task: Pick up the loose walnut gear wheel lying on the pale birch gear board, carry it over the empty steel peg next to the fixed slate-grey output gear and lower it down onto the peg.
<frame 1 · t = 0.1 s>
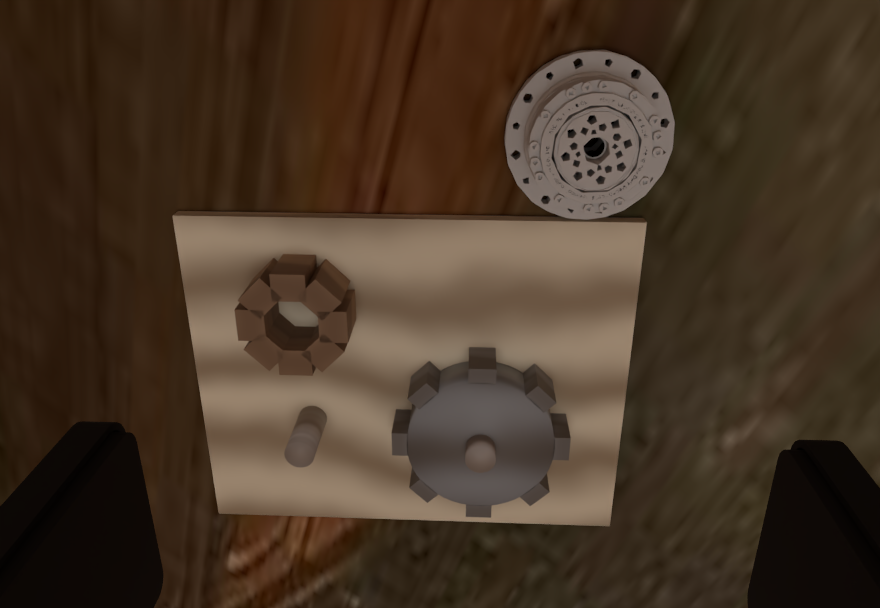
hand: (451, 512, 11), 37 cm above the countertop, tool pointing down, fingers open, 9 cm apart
mechanical component: (585, 133, 45), on the countertop
gear board: (410, 376, 52), on the countertop
walnut gear: (303, 303, 49), point 1 cm above the countertop, touching gear board
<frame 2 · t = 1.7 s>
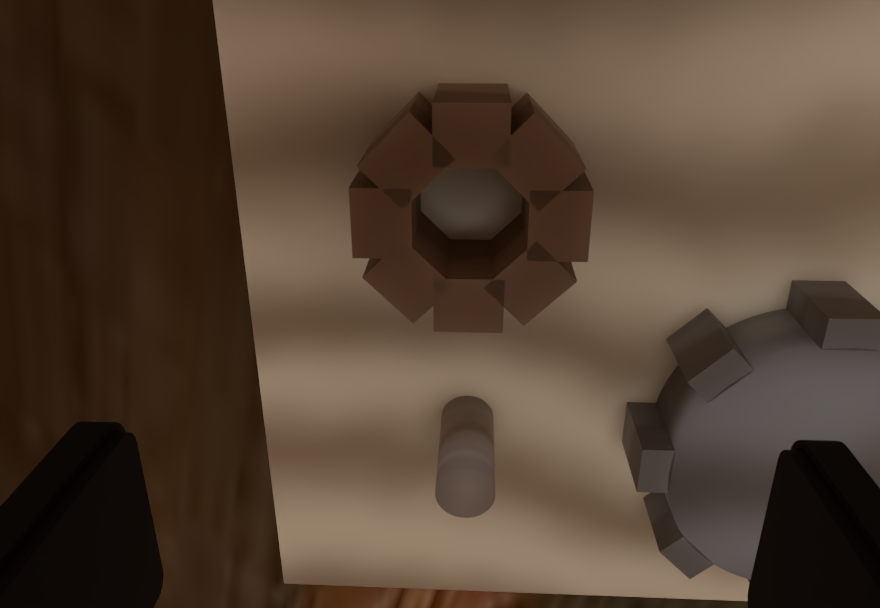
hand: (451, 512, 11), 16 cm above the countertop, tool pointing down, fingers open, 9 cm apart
gear board: (654, 340, 28), on the countertop
walnut gear: (471, 191, 25), point 1 cm above the countertop, touching gear board
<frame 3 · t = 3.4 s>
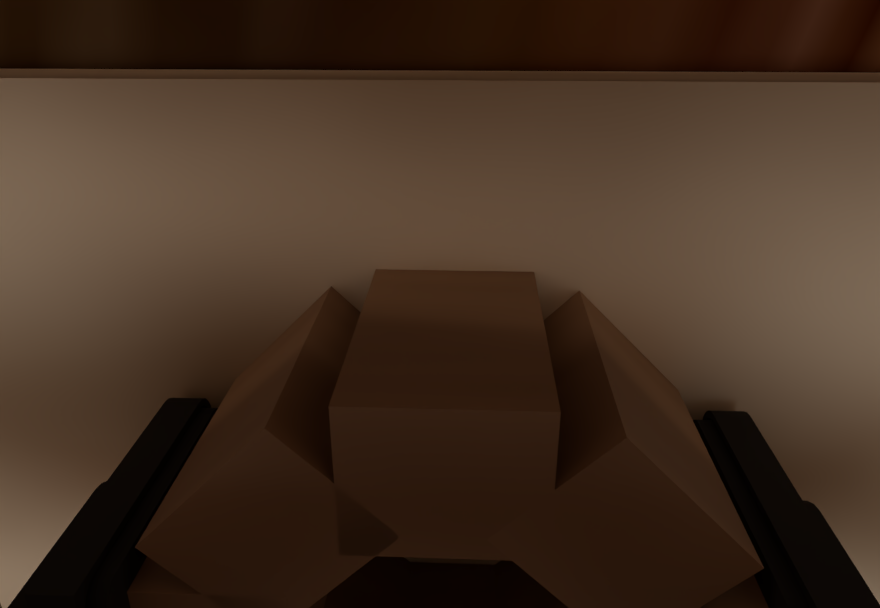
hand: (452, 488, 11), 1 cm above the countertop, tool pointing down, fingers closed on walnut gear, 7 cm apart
walnut gear: (452, 479, 11), point 1 cm above the countertop, touching gear board, gripper
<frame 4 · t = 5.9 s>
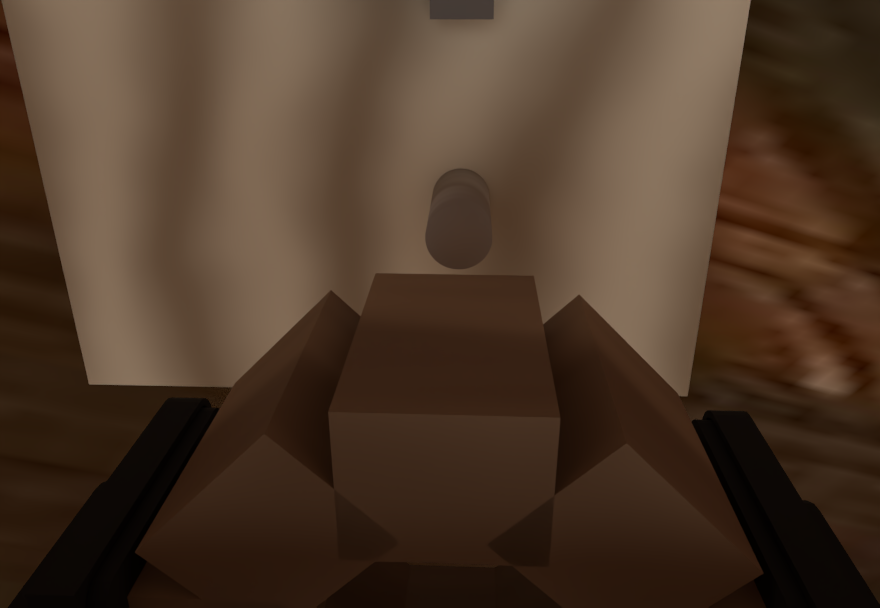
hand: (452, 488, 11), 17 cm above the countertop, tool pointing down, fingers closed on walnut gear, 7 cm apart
walnut gear: (452, 482, 11), point 17 cm above the countertop, touching gripper
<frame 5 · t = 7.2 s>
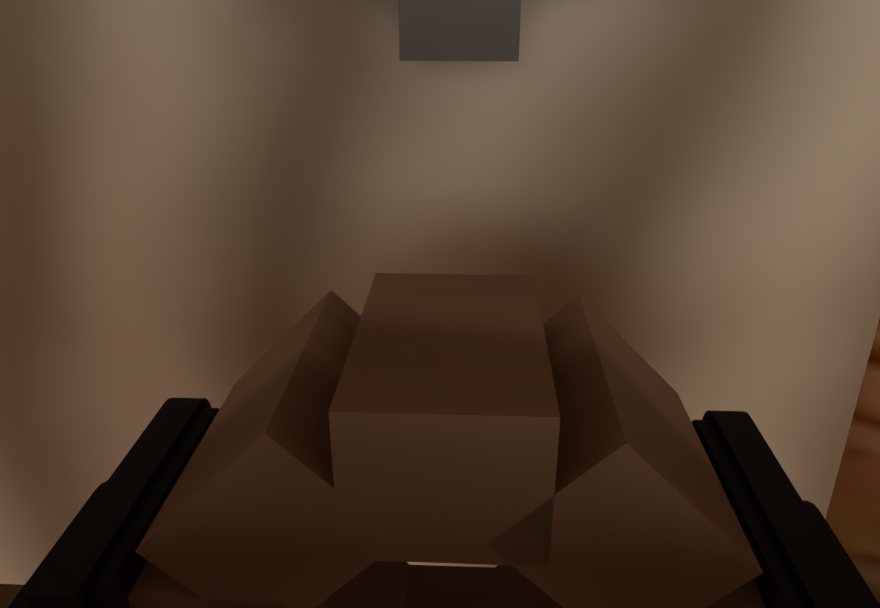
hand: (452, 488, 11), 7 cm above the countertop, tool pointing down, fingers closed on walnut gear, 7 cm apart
walnut gear: (452, 482, 11), point 6 cm above the countertop, touching gripper
when the fingers open (3 cm above the countertop, at t = 8.4 s): walnut gear drops 2 cm, resting on gear board.
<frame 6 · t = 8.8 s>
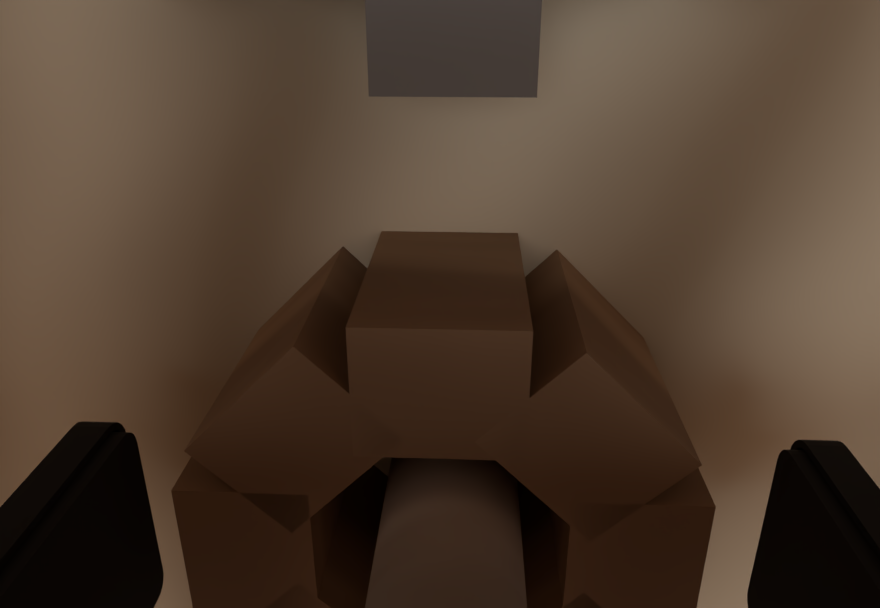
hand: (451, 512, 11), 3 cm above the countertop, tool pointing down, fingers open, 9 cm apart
walnut gear: (448, 419, 13), point 1 cm above the countertop, touching gear board
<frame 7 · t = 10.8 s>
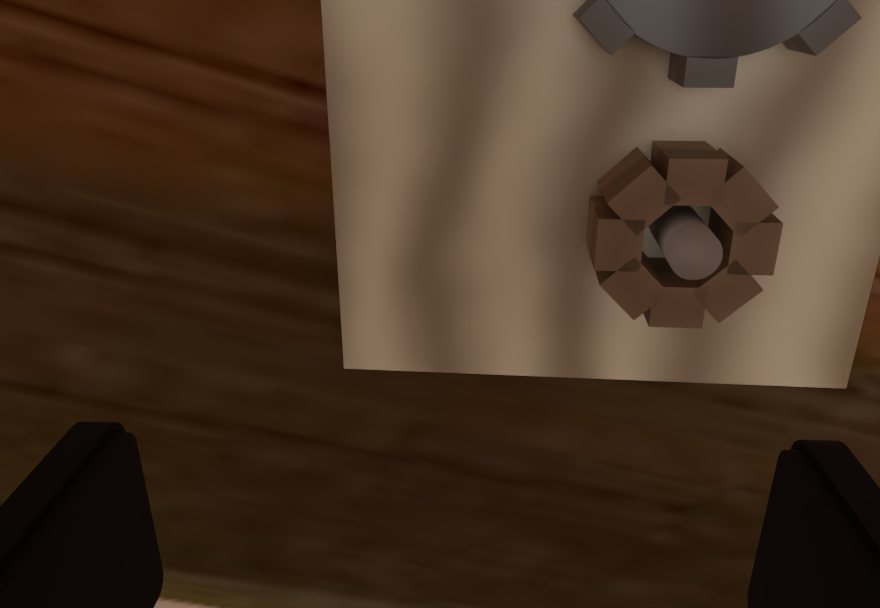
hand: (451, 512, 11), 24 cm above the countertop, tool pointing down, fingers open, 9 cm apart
gear board: (613, 49, 30), on the countertop
walnut gear: (668, 221, 32), point 1 cm above the countertop, touching gear board
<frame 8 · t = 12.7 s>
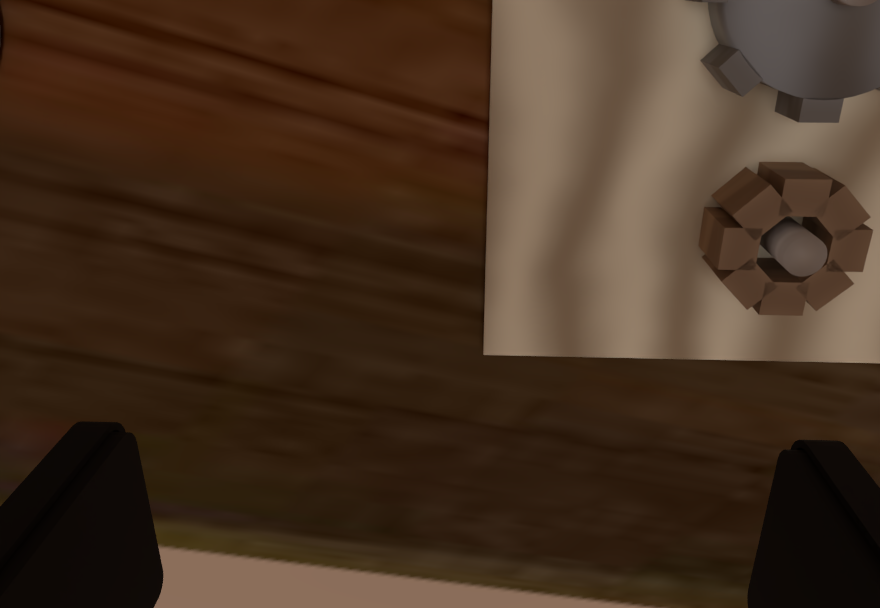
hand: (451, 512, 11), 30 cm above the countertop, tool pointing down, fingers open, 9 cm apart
gear board: (728, 87, 37), on the countertop
walnut gear: (768, 227, 39), point 1 cm above the countertop, touching gear board
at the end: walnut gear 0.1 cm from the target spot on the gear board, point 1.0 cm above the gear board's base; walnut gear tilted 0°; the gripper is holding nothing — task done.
